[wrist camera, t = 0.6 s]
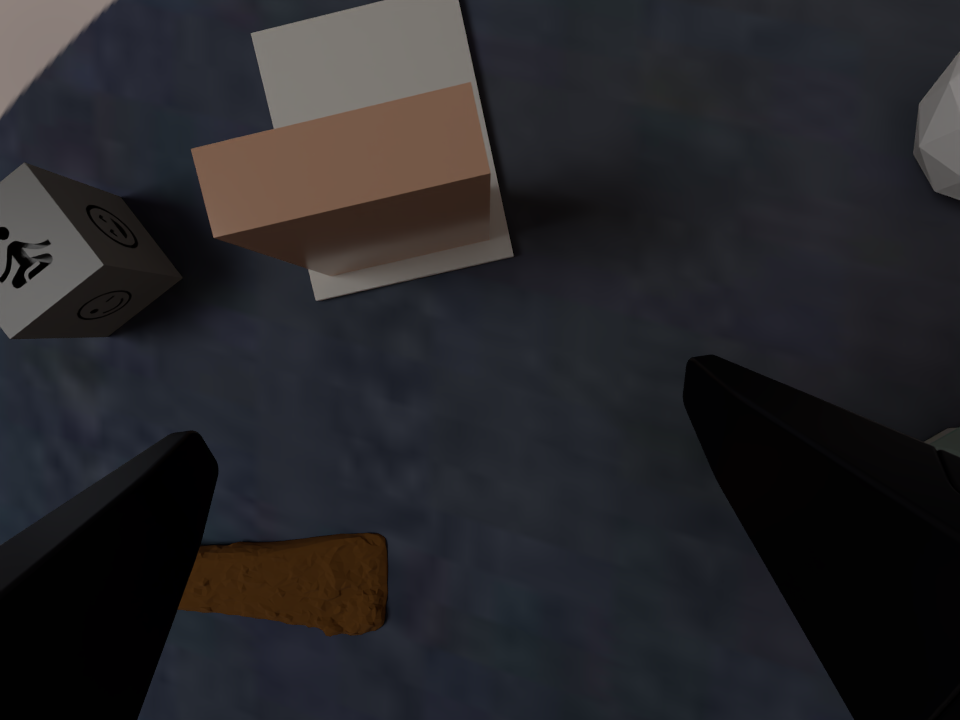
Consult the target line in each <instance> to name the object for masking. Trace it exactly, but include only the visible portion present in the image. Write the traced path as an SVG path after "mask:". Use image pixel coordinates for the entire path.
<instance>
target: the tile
mask: <svg viewBox="0 0 960 720" xmlns="http://www.w3.org/2000/svg"><path fill="white" fill-rule="evenodd" d="M191 151H192V155H193V159H194V163H195V167H196V171H197V175H198V179H199V182H200V186H201V190H202V194H203V198H204V202H205V206H206V210H207V214H208V218H209V222H210V226H211V229H212V233H213V237H214V238H216V239H219V240H222V241H225V242H228V243H231V244H234V245H237V246H240V247H243V248H246V249H249V250H252V251H255V252H258V253H261V254H264V255H267V256H271V257H274V258H277V259H280V260H283V261H286V262H289V263H292V264H295V265H298V266H301V267H304V268H307V269H310V270H313V271H316V272H319V273H322V274H325V275H328V276H334V275H339V274H343V273H348V272H352V271H356V270H361V269H365V268H369V267H374V266H378V265H382V264H387V263H391V262H396V261H400V260H404V259H409V258H413V257H417V256H422V255H426V254H431V253H435V252H439V251H444V250H448V249H452V248H457V247H461V246H465V245H470V244H474V243H479V242H483V241H487V240H489V235H490V180H491V173H490V168H489V163H488V159H487V154H486V149H485V145H484V140H483V136H482V131H481V126H480V122H479V117H478V112H477V108H476V103H475V99H474V94H473V89H472V85H471V82H468V83H464V84H460V85H455V86H451V87H447V88H443V89H439V90H435V91H430V92H426V93H422V94H418V95H414V96H410V97H405V98H401V99H397V100H393V101H389V102H385V103H380V104H376V105H372V106H368V107H364V108H360V109H355V110H351V111H347V112H343V113H339V114H335V115H330V116H326V117H322V118H318V119H314V120H309V121H305V122H301V123H297V124H293V125H289V126H284V127H280V128H276V129H272V130H268V131H264V132H259V133H255V134H251V135H247V136H243V137H239V138H234V139H230V140H226V141H222V142H218V143H214V144H210V145H206V146H201V147H197V148H193V149H191Z"/></svg>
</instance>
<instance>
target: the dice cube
mask: <svg viewBox="0 0 960 720" xmlns="http://www.w3.org/2000/svg"><path fill="white" fill-rule="evenodd" d="M182 278H183V277H182V276H181V275H180V273H179V272H178V271H177V270H176V268H175V267H174V266H173V264H172V263H171V262H170V260H169V259H168V258H167V256H166V255H165V254H164V253H163V251H162V250H161V249H160V247H159V246H158V245H157V243H156V242H155V241H154V240H153V238H152V237H151V236H150V234H149V233H148V232H147V230H146V229H145V228H144V227H143V225H142V224H141V223H140V221H139V220H138V219H137V217H136V216H135V215H134V214H133V212H132V211H131V210H130V208H129V207H128V206H127V204H126V203H125V202H124V201H123V199H122V198H121V197H119V196H117V195H114V194H111V193H108V192H105V191H103V190H100V189H97V188H94V187H92V186H89V185H86V184H83V183H80V182H78V181H75V180H72V179H69V178H66V177H64V176H61V175H58V174H55V173H52V172H50V171H47V170H44V169H41V168H38V167H36V166H33V165H30V164H27V163H23V164H22V165H21V166H19V167H18V168H17V169H16V170H15V171H13V172H12V173H11V174H10V175H8V176H7V177H6V178H5V179H4V180H2V181H1V182H0V327H1V328H2V329H3V331H4V332H5V333H6V335H7V336H8V337H9V338H10V339H37V338H82V337H108V336H109V335H111V334H112V333H113V332H115V331H116V330H117V329H118V328H120V327H121V326H122V325H123V324H125V323H126V322H127V321H129V320H130V319H131V318H132V317H134V316H135V315H136V314H138V313H139V312H140V311H141V310H143V309H144V308H145V307H147V306H148V305H149V304H150V303H152V302H153V301H154V300H155V299H157V298H158V297H159V296H161V295H162V294H163V293H164V292H166V291H167V290H168V289H170V288H171V287H172V286H173V285H175V284H176V283H177V282H178V281H180V280H181V279H182Z"/></svg>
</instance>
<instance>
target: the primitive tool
mask: <svg viewBox="0 0 960 720" xmlns="http://www.w3.org/2000/svg"><path fill="white" fill-rule="evenodd" d="M385 543H386V541H385V537H383V536H382V535H380V534H378V533H375V534H372V533H357V534H336V535H328V536H319V537H311V538H306V539H296V540H288V541H278V542H258V543H250V542H237V543H233V544H231V545H208V546H200V548H199V551H198V554H197V557H196V560H195V563H194V566H193V569H192V571H191V574H190V577H189V580H188V582H187V585H186V588H185V590H184V593H183V596H182V599H181V601H180V604H179V607H178V610H186V611H198V612H203V613H210V612H216V613H223V614H227V615H240V616H245V617H253V618H257V619H268V620H274V621H281V622H284V623H286V624H292V625H306V626H307V627H317V628H320V629H321V630H323V631H324V633H325V634H326V636H332V635H338V634H341V633H344V634H348V635H350V636H351V635H362V634H364V633H366V632H369V631H376V630H377V629H378V628H380V627H381V626H382V625H383V623H384V621H385V614H386V611H385V609H386V600H387V595H388V588H387V578H388V563H387V550H386V544H385Z"/></svg>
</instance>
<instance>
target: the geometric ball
mask: <svg viewBox="0 0 960 720" xmlns="http://www.w3.org/2000/svg"><path fill="white" fill-rule="evenodd" d="M913 155H914V156H915V158H916V160H917V162H918V163H919V165H920V167H921V169H922V170H923V172H924V174H925V176H926V178H927V179H928V181H929V183H930V185H931V186H932V188H933V190H934V192H937V193H940V194H943V195H946V196H949V197H952V198H955V199H958V200H960V52H959V53H958V54H957V56H956V57H955V58H954V59H953V61H952V62H951V63H950V65H949V66H948V67H947V68H946V70H945V71H944V72H943V74H942V75H941V76H940V77H939V79H938V80H937V81H936V83H935V84H934V85H933V86H932V88H931V89H930V90H929V92H928V93H927V94H926V95H925V97H924V98H923V99H922V101H921V102H920V103H919V109H918V117H917V126H916V134H915V142H914V151H913Z"/></svg>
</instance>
